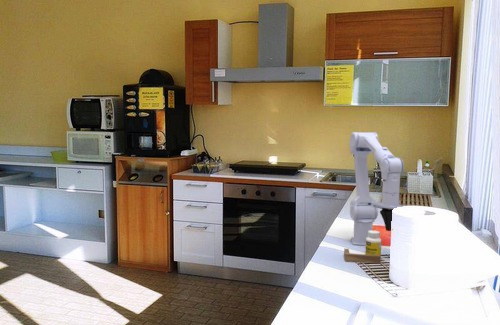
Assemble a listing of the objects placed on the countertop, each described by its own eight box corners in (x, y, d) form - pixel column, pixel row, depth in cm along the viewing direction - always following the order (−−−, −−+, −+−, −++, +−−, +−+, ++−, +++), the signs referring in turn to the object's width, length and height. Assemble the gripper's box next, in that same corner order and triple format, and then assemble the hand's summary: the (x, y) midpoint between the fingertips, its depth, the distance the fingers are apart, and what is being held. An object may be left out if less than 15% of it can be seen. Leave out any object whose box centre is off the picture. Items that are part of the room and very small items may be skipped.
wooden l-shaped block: (344, 255, 176) (344, 248, 176) (378, 257, 174) (378, 250, 174) (345, 261, 169) (345, 254, 169) (380, 263, 167) (380, 256, 167)
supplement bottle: (362, 258, 172) (363, 231, 171) (368, 255, 177) (370, 228, 176) (376, 261, 169) (378, 234, 168) (383, 258, 173) (384, 231, 172)
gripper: (415, 193, 167) (413, 232, 168) (379, 188, 177) (378, 224, 179) (404, 196, 162) (402, 235, 163) (368, 190, 173) (366, 227, 174)
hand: (389, 230), depth 171 cm, fingers closed
